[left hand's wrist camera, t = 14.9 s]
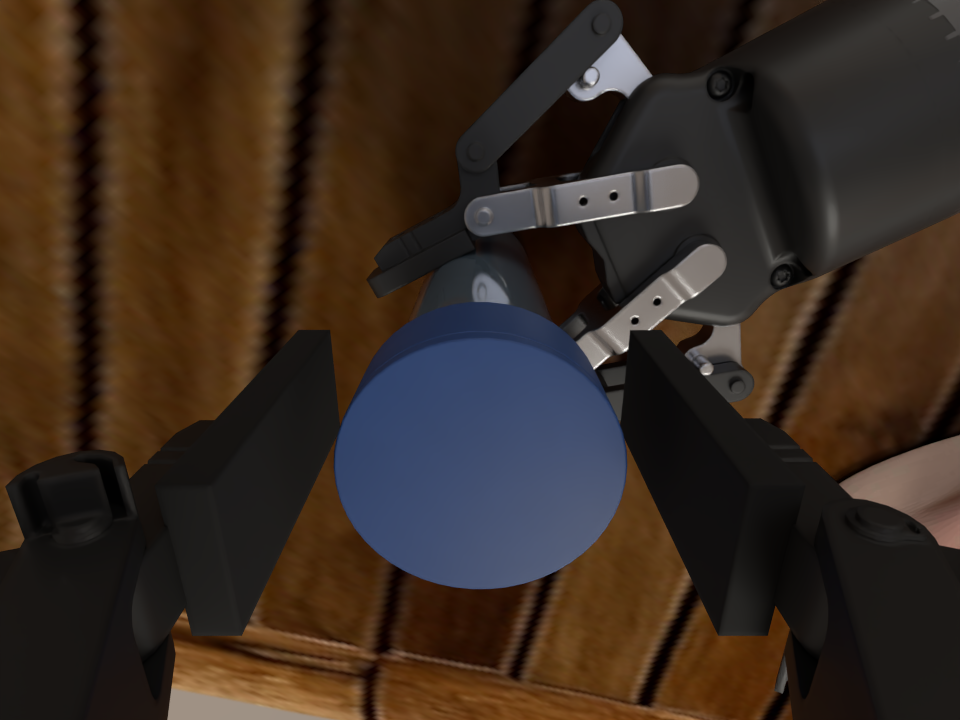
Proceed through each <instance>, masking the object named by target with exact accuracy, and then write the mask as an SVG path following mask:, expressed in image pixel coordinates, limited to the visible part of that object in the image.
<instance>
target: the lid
mask: <svg viewBox="0 0 960 720" xmlns="http://www.w3.org/2000/svg"><path fill="white" fill-rule="evenodd" d="M626 472H627V452H626V445H625V440H624V435H623V431H622V429H621V426H620V423H619V421H618V418H617V416H616V414H615V411H614V409H613V407H612V405H611V403H610V401H609V399H608V397H607V395H606V393H605V391H604V389H603V387H602V385H601V383H600V381H599V379H598V376H597V374H596V372H595V370H594V368H593V367H592V365H591V363H590V361H589V359H588V358H587V356H586V355H585V353H584V352H583V351H582V349H581V348H580V347H579V345H578V344H577V343H576V342H575V341H574V340H573V339H572V338H571V337H570V336H569V335H568V334H567V333H566V332H565V331H563V330H562V329H561V328H559V327H558V326H557V325H555V324H554V323H552V322H551V321H549V320H547V319H545V318H544V317H542V316H540V315H538V314H536V313H533V312H531V311H528V310H525V309H523V308H519V307H515V306H511V305H508V304H501V303H493V302H467V303H460V304H453V305H449V306H446V307H442V308H438V309H435V310H433V311H430V312H428V313H425V314H423V315H421V316H419V317H417V318H416V319H414V320H412V321H410V322H409V323H407V324H406V325H404V326H403V327H402V328H400V329H399V330H398V331H396V332H395V333H394V334H393V335H392V336H391V337H390V338H389V339H388V340H387V341H386V342H385V343H384V344H383V345H382V346H381V348H380V349H379V350H378V352H377V353H376V355H375V356H374V357H373V359H372V361H371V363H370V365H369V366H368V368H367V370H366V372H365V374H364V376H363V378H362V380H361V382H360V385H359V387H358V389H357V391H356V393H355V395H354V397H353V399H352V401H351V403H350V405H349V407H348V410H347V411H346V413H345V416H344V418H343V420H342V423H341V426H340V429H339V432H338V435H337V440H336V445H335V450H334V473H335V481H336V486H337V490H338V493H339V497H340V500H341V503H342V505H343V507H344V510H345V512H346V514H347V516H348V518H349V519H350V521H351V523H352V524H353V526H354V527H355V529H356V530H357V531H358V533H359V534H360V535H361V536H362V538H363V539H364V540H365V541H366V542H367V543H368V544H369V545H370V546H371V547H372V548H373V549H374V550H375V551H376V552H377V553H378V554H380V555H381V556H382V557H384V558H385V559H386V560H388V561H389V562H390V563H392V564H394V565H395V566H397V567H399V568H401V569H402V570H404V571H406V572H408V573H410V574H413V575H415V576H417V577H419V578H422V579H425V580H428V581H431V582H434V583H437V584H442V585H447V586H452V587H458V588H469V589H493V588H502V587H509V586H514V585H519V584H523V583H527V582H530V581H533V580H536V579H539V578H542V577H544V576H546V575H548V574H551V573H553V572H555V571H557V570H559V569H560V568H562V567H564V566H565V565H567V564H569V563H571V562H572V561H573V560H575V559H576V558H577V557H579V556H580V555H581V554H582V553H584V552H585V551H586V550H587V549H588V548H589V547H590V546H591V545H592V544H593V543H594V542H595V541H596V540H597V539H598V538H599V536H600V535H601V534H602V533H603V531H604V530H605V529H606V527H607V526H608V524H609V522H610V521H611V519H612V517H613V516H614V514H615V512H616V509H617V507H618V505H619V502H620V500H621V497H622V493H623V489H624V486H625V481H626Z"/></svg>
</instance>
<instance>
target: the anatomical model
mask: <svg viewBox="0 0 960 720" xmlns="http://www.w3.org/2000/svg"><path fill="white" fill-rule="evenodd" d="M839 485H840V486H841V487H842V488H843V489H844V490H845V491H846V492H847V493H848V494H849V495H850V496H851V497H852V498H854V499H865V500H869V501H873V502H877V503H880V504H884V505H887V506H890V507H892V508H894V509H896V510H899V511H901V512H903V513H905V514H908V515H909V516H911V517H912V518H914V519H915V520H917V521H918V522H920V523H921V524H922V525H924V526H925V527H926V528H927V529H928V530H929V532H930V533H931V534H932V535H933V536H934V537H935V539H936V540H937V542H938V544H939V545H941V546H946V547H951V548H956V549H960V435H958V436H955V437H951V438H947V439H944V440H941V441H938V442H935V443H932V444H929V445H925V446H922V447H919V448H917V449H914V450H911V451H909V452H906V453H903V454H900V455H898V456H895V457H892V458H890V459H888V460H885V461H883V462H880V463H878V464H876V465H873V466H871V467H869V468H867V469H865V470H863V471H861V472H859V473H857V474H855V475H853V476H851V477H850V478H848V479H846V480H844V481H843V482H841V483H840V484H839Z"/></svg>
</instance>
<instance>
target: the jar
mask: <svg viewBox="0 0 960 720" xmlns="http://www.w3.org/2000/svg"><path fill="white" fill-rule="evenodd" d="M467 302H493V303H501V304H508V305H511V306H515V307H519V308H523V309H525V310H528V311H531V312H533V313H536V314H538V315H540V316H542V317H544V318H545V319H547V320H549V321H551V322H552V319H551V317H550V314H549V311H548V309H547V306H546V304H545V301H544V298H543V296H542V293H541V291H540V288H539V286H538V283H537V280H536V278H535V275H534V273H533V270H532V267H531V265H530V262H529V260H528V257H527V255H526V252H525V250H524V248H523V246H522V245H521V243H520V242H519V240H518V239H517V238H516V237H515V236H514V235H513V234H512V233H510V232H509V233H503V234H497V235H491V236H484V237H481V238H479V239H477V240H476V241H475V250H473V251H471V252H469V253H467V254H465V255H463V256H461V257H459V258H457V259H455V260H452V261H450V262H448V263H447V264H445V265H443V266H442V267H440V268H438V269H436V270H434V271H432V272H430V273H428V274H427V275H426V277H425V280H424V282H423V285H422V287H421V290H420V293H419V295H418V298H417V300H416V303H415V306H414V308H413V311H412V313H411V316H410V319H409V321H408V323H409V322H410V321H412V320H414V319H416V318H417V317H419V316H421V315H423V314H425V313H428V312H430V311H433V310H435V309H438V308H442V307H446V306H449V305H453V304H460V303H467ZM552 323H553V322H552Z"/></svg>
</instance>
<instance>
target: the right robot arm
mask: <svg viewBox="0 0 960 720" xmlns="http://www.w3.org/2000/svg"><path fill="white" fill-rule="evenodd" d="M622 28H623V16H622V13H621V11H620V9H619V7H618V6H617V5H616V4H615V3H614V2H612V1H610V0H596V1H593V2H592V3H590V4H589V5H588V6H587V7H586V8H585V9H584V10H583V11H582V12H581V13H580V14H579V15H578V16H577V17H576V18H575V19H574V20H573V21H572V22H571V23H570V24H569V25H568V26H567V28H566V29H565V30H564V31H563V32H562V33H561V34H560V35H559V36H558V37H557V38H556V39H555V40H554V41H553V42H552V43H551V44H550V45H549V46H548V47H547V48H546V49H545V50H544V51H543V52H542V53H541V54H540V55H539V56H538V57H537V59H536V60H535V61H534V62H533V63H532V64H531V65H530V66H529V67H528V68H527V69H526V70H525V71H524V72H523V73H522V74H521V75H520V76H519V77H518V78H517V79H516V80H515V81H514V82H513V83H512V84H511V85H510V86H509V87H508V88H507V89H506V91H505V92H504V93H503V94H502V95H501V96H500V97H499V98H498V99H497V100H496V101H495V102H494V103H493V104H492V105H491V106H490V107H489V108H488V109H487V110H486V111H485V112H484V113H483V114H482V115H481V116H480V117H479V118H478V119H477V120H476V122H475V123H474V124H473V125H472V126H471V127H470V128H469V129H468V130H467V131H466V132H465V133H464V134H463V135H462V136H461V137H460V138H459V140H458V142H457V145H456V158H457V162H458V170H459V177H460V185H461V192H460V196H459V198H458V200H457V201H456V202H455V203H454V204H453V205H451V206H450V207H448V208H446V209H444V210H442V211H441V212H439V213H437V214H435V215H433V216H431V217H429V218H427V219H426V220H424V221H422V222H420V223H418V224H416V225H415V226H412V227H411V228H409V229H407V230H405V231H403V232H401V233H399V234H397V235H396V236H394V237H392V238H390V239H389V240H388V242H387V243H386V244H385V245H384V246H383V248H382V249H381V250H380V251H379V253H378V254H377V255H376V256H375V257H374V259H375V261H376V262H377V264H378V266H379V267H378V268H376V269H375V270H374V271H373V272H372V273H371V274H370V276H369V277H368V278H367V281H368V283H369V285H370V286H371V288H372V290H373V291H374V293H375V295H376V296H377V298H380V297H383V296H385V295H387V294H389V293H391V292H393V291H395V290H397V289H399V288H401V287H403V286H405V285H407V284H408V283H410V282H412V281H414V280H416V279H418V278H420V277H422V276H424V275H426V274H428V273H430V272H432V271H434V270H436V269H438V268H440V267H442V266H443V265H445V264H447V263H448V262H450V261H452V260H455V259H457V258H459V257H461V256H463V255H465V254H467V253H469V252H471V251H473V250H475V241H476V240H477V239H479V238H481V237H484V236H491V235H497V234H503V233H509V232H515V231H520V230H526V229H532V228H539V227H544V228H552V227H560V226H566V225H571V224H575V225H576V228H577V230H578V232H579V233H580V234H581V235H582V236H583V238H584V239H585V240H586V241H587V243H588V244H589V245H590V246H591V247H592V250H593V256H594V263H595V270H596V273H597V275H598V277H599V280H600V282H601V284H599V285H598V286H597V287H596V288H595V289H594V290H593V291H592V292H591V293H589V294H588V295H587V296H586V297H585V298H584V299H583V300H582V301H581V303H580V304H579V306H578V309H577V310H576V311H575V312H574V313H573V314H572V315H571V316H570V317H569V318H568V319H567V320H566V321H565V322H563V323H562V324H561V325H560V326H559V328H561V329H562V330H563V331H565V332H566V333H567V334H568V335H569V336H570V337H571V338H572V339H573V340H574V341H575V342H576V343H577V344H578V345H579V347H580V348H581V349H582V351H583V352H584V353H585V355H586V356H587V358H588V359H589V361H590V363H591V365H592V367H593V368H594V370H595V372H596V374H597V376H598V379H599V381H600V383H601V385H602V387H603V389H604V391H605V393H606V395H607V397H608V399H609V401H610V403H611V405H612V407H613V409H614V411H615V414H616V416H617V418H618V421H621V413H622V403H623V393H624V384H625V374H626V365H627V360H626V361H621V362H615V363H609V364H604V365H601V364H602V363H603V362H604V361H605V360H606V359H608V358H609V357H611V356H613V355H620V354H622V353H624V352H625V351H627V350H628V345H629V336H630V330H652V329H653V328H654V327H655V326H657V325H658V324H659V323H660V322H661V321H662V320H664V319H668V320H675V321H681V322H688V323H695V324H702V325H703V327H702V328H701V330H700V331H699V332H698V333H697V334H696V335H694V336H692V337H689V338H686V339H684V340H682V341H680V342H679V344H678V345H677V348H678V349H679V350H680V351H681V352H682V353H683V354H684V355H685V356H686V357H687V358H688V359H689V361H690V362H691V363H692V364H693V365H694V366H695V367H696V368H697V369H698V370H699V371H700V372H701V373H702V374H703V376H704V377H705V378H706V379H707V380H708V381H709V382H710V383H711V384H712V385H713V386H714V387H715V388H716V390H717V391H718V392H719V393H720V394H721V395H722V396H723V397H724V398H725V399H726V400H727V401H728V402H729V403H730V402H736V401H740V400H743V399H745V398H746V397H747V396H748V395H749V394H750V393H751V392H752V390H753V388H754V379H753V377H752V375H751V374H750V373H749V372H748V371H746V370H745V369H744V367H743V366H742V364H741V334H740V323H741V322H743V321H745V320H746V319H748V318H749V317H750V316H751V315H752V314H753V313H754V312H755V311H756V310H757V308H758V307H759V306H760V305H761V304H762V303H763V302H764V301H765V300H766V299H767V298H769V297H770V296H771V295H773V294H774V293H775V292H777V291H779V290H781V289H784V288H787V287H789V286H793V285H796V284H799V283H802V282H805V281H809V280H811V279H814V278H817V277H819V276H821V275H824V274H826V273H828V272H830V271H832V270H835V269H837V268H839V267H841V266H843V265H846V264H848V263H850V262H852V261H854V260H857V259H859V258H861V257H863V256H865V255H868V254H870V253H872V252H874V251H876V250H879V249H881V248H883V247H885V246H887V245H890V244H892V243H894V242H896V241H898V240H901V239H903V238H905V237H907V236H909V235H912V234H914V233H916V232H918V231H920V230H922V229H925V228H927V227H929V226H931V225H933V224H936V223H938V222H940V221H942V220H944V219H947V218H949V217H951V216H953V215H955V214H957V213H960V0H827V1H825V2H823V3H821V4H819V5H817V6H815V7H814V8H812V9H810V10H808V11H806V12H804V13H803V14H801V15H799V16H797V17H795V18H793V19H791V20H789V21H788V22H786V23H784V24H782V25H780V26H778V27H776V28H775V29H773V30H771V31H769V32H767V33H765V34H763V35H761V36H760V37H758V38H756V39H754V40H752V41H750V42H748V43H746V44H745V45H743V46H741V47H739V48H737V49H735V50H733V51H731V52H730V53H728V54H726V55H724V56H722V57H720V58H718V59H717V60H715V61H713V62H711V63H709V64H707V65H705V66H703V67H702V68H699V69H697V70H695V71H693V72H691V73H685V74H673V73H663V74H658V75H654V76H652V75H651V73H650V72H649V71H648V69H647V68H646V67H645V65H644V64H643V63H642V61H641V60H640V59H639V57H638V56H637V55H636V53H635V52H634V51H633V49H632V48H631V47H630V45H629V44H628V43H627V41H626V40H625V39H624V37H623V36H622V35H621V32H622ZM564 93H565V94H566V96H567V97H568V98H569V99H571V100H572V101H574V102H579V103H582V102H586V101H590V100H593V99H595V98H596V97H598V96H599V95H600V94H602V93H611V94H614V95H616V96H617V97H618V98H619V99H620V102H619V104H618V106H617V108H616V109H615V111H614V113H613V115H612V117H611V119H610V121H609V122H608V124H607V126H606V128H605V130H604V132H603V133H602V135H601V137H600V139H599V141H598V143H597V144H596V146H595V148H594V150H593V152H592V154H591V155H590V157H589V159H588V161H587V163H586V165H585V166H584V168H583V170H582V171H577V172H571V173H565V174H560V175H554V176H549V177H543V178H538V179H534V180H531V181H527V182H522V183H516V184H511V185H505V186H500V185H499V176H498V167H497V159H498V158H499V157H500V156H501V155H502V154H503V153H504V152H505V151H506V150H507V149H508V148H509V147H510V146H511V145H512V144H513V143H514V142H515V141H516V140H517V139H518V138H519V137H520V136H522V135H523V134H524V133H525V132H526V131H527V130H528V129H529V128H530V127H531V126H532V125H533V124H534V123H535V122H536V121H537V120H538V119H539V118H540V117H541V116H542V115H543V114H544V113H545V112H546V111H547V110H548V109H549V108H550V107H551V106H552V105H553V104H554V103H555V102H556V101H557V100H558V99H559V98H560V97H561V96H562V95H563V94H564ZM633 318H634V319H633ZM632 319H633V320H632Z"/></svg>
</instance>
